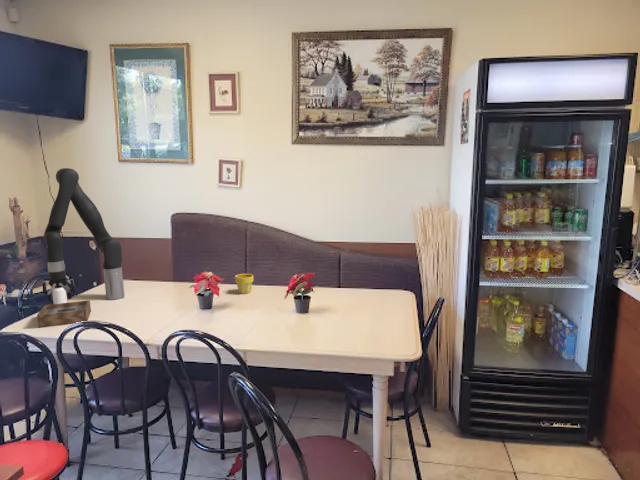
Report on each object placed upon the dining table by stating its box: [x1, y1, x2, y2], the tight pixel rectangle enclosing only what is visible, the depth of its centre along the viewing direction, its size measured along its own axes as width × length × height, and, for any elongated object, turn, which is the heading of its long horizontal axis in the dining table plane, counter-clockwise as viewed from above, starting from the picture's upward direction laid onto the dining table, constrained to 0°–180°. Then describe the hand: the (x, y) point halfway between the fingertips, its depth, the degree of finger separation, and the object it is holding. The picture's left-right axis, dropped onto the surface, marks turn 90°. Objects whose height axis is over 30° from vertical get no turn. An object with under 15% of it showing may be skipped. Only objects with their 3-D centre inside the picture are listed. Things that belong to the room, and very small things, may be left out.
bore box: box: [36, 299, 92, 329], centre depth 217 cm, size 20×16×6 cm
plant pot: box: [234, 273, 254, 295], centre depth 256 cm, size 10×10×10 cm
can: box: [51, 287, 69, 304], centre depth 232 cm, size 6×6×12 cm
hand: (60, 300), depth 232 cm, fingers open, 8 cm apart
